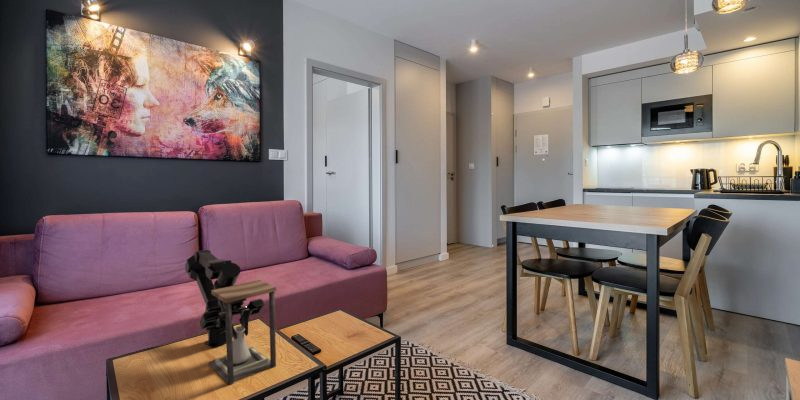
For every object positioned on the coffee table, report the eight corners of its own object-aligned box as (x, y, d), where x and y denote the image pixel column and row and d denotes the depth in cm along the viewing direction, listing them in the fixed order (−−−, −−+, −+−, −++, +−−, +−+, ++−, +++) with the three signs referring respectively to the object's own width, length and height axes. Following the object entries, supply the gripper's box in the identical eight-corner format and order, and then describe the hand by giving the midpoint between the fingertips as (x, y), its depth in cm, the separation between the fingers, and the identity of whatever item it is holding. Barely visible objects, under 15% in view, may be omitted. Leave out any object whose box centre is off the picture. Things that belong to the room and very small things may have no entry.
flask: (236, 367, 112) (237, 337, 110) (220, 358, 115) (221, 329, 113) (255, 356, 118) (256, 328, 116) (240, 348, 121) (241, 320, 120)
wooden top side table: (206, 364, 115) (204, 286, 113) (253, 348, 126) (251, 276, 124) (228, 386, 103) (225, 299, 102) (277, 366, 114) (276, 287, 112)
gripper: (201, 287, 110) (216, 334, 103) (261, 275, 123) (278, 315, 116) (193, 306, 116) (207, 351, 109) (251, 292, 129) (267, 332, 122)
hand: (241, 336), depth 114 cm, fingers closed on flask, 3 cm apart
